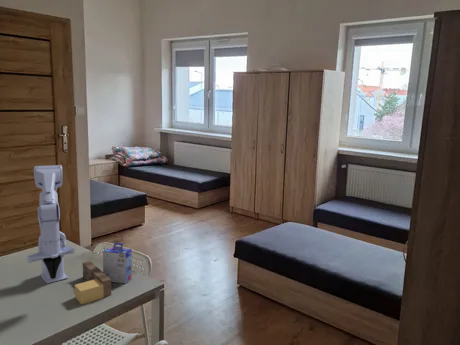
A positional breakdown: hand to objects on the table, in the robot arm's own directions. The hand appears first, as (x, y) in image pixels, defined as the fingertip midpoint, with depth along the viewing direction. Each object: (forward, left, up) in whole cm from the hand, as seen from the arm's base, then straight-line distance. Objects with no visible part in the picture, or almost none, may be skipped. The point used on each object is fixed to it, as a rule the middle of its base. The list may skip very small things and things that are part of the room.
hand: (52, 277), depth 137 cm
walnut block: (-4, +17, -9) cm, 19 cm away
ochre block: (+3, +11, -10) cm, 15 cm away
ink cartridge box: (-4, +25, -10) cm, 27 cm away
